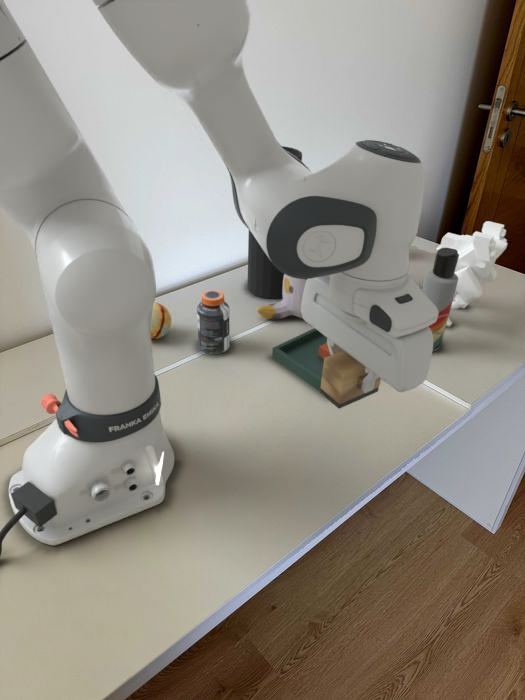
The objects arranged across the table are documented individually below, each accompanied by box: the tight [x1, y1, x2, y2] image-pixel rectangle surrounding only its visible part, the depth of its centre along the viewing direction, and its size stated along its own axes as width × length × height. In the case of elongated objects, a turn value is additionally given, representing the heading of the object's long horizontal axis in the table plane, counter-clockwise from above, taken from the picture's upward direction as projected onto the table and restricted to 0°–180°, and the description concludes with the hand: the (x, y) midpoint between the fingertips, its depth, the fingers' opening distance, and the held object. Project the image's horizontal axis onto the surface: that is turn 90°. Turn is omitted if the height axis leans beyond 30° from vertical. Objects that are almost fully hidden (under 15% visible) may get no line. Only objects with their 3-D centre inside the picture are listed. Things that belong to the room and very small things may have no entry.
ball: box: [151, 302, 172, 340], centre depth 103 cm, size 7×7×7 cm
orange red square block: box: [318, 343, 330, 359], centre depth 100 cm, size 4×4×2 cm
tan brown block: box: [319, 350, 382, 409], centre depth 72 cm, size 4×7×6 cm, turn 124°
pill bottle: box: [196, 289, 231, 355], centre depth 100 cm, size 6×6×11 cm
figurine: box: [256, 274, 307, 320], centre depth 111 cm, size 12×17×15 cm
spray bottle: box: [421, 248, 459, 353], centre depth 101 cm, size 6×6×20 cm
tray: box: [271, 327, 327, 392], centre depth 102 cm, size 22×15×2 cm
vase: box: [246, 145, 303, 300], centre depth 115 cm, size 10×10×30 cm
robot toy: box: [435, 220, 509, 328], centre depth 111 cm, size 19×14×20 cm
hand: (351, 378), depth 72 cm, fingers closed on tan brown block, 4 cm apart
